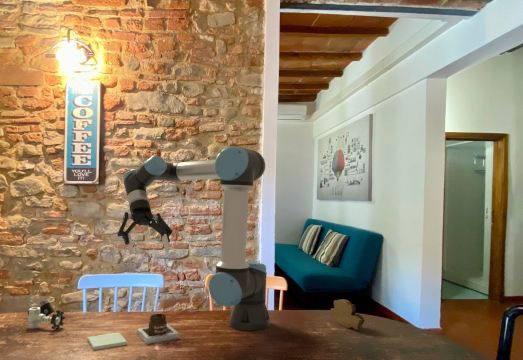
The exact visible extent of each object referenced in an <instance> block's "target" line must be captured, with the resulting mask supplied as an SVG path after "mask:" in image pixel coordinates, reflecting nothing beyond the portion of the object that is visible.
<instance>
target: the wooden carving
mask: <svg viewBox="0 0 523 360" xmlns="http://www.w3.org/2000/svg"><path fill="white" fill-rule="evenodd" d="M356 310H357V308H356V305H355V303H354V304H353V303H352V302H351V301H349V300H348V299H344V298H343V299H335V300H333V308H330V311H331V312H332V313H333V316H332V317H333V318H334V320H335V322H337V323H338V324H339V325H340V326H342V325H343V326H345V327H344V328H346V327H347V328H346V329H349V328H353V329H354V330H356V331H358V330H360V329H362V328H363V324H364V323H365V318H364V317H363V315H361V314H358V313H357V312H356ZM356 313H357V314H356ZM343 326H342V327H343Z"/></svg>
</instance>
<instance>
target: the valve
mask: <svg viewBox="0 0 523 360" xmlns="http://www.w3.org/2000/svg"><path fill="white" fill-rule="evenodd" d="M28 310H29V315H28V314H27V322H28V324H27V325H28V327H27V329H33V330H34V329H37V328H38V329H39V328H40V326H41V325H40V324H44V323H45V322H46V323H47V322H48V323H50V324H51V325H52V326H51V329H53V330H57V329H59V330H60V328H61V327H60V326H62V327H63V326H64V324H65V323H64V322H63V321H64V320H65V319H66V315H64V314H65V312H64V310H60V309H59V310H56V311H55V313H52V315H51V316H49V315H48V316H46V315H45V314H40V307H39V306H34V307H30V308H29V309H28Z"/></svg>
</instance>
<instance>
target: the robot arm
mask: <svg viewBox="0 0 523 360" xmlns="http://www.w3.org/2000/svg"><path fill="white" fill-rule="evenodd" d="M265 171H266V161H265V159H264V157H263V155H262V154H261V153H260V152H258V151H256V150H254V149H248V148H245V147H241V146H227V147H225V148H223V149H222V150H221V151H220V152H219V153H218V154H217V155H216V157H215V159H208V160H207V159H206V160H195V161H184V162H183V161H182V162H166V161H165V159H164V158H162V156H159V155H157V154H155V155H152V156H150V157H149V158H148V159H147V160H146V161H144V163H142V165H141V166H139V168H137V169H130V170H129V171H126V172H125V173H124V175H123V185H124V188H125V189H124V190H125V193H126V197H127V201H128V202H127V203H128V206H129V211H130V213H129V212H128V211H124V214H123V215H122V223H121V225H120V227H119V230H118V232H117V236H118V237H121V238H122V239H123V242H124V244H125V245H127V249H128V254H129V255H131V254H132V253H133V251H134V250H135V247H134V245H133V239H132V235H131V231H133V229H134V228H135V227H137V225H138V226H146V227H147V226H148V227H149V228H152V229H153V230H154V231H156V232H157V233H158V234H159V235H160V236H162V238H161V240H162V243H163V247H164V248H163V249H164V252H165V254H168V253H169V251H170V250H171V247H170V243H171V239H170V236H171V235H172V234H173V233H174V232H173V230H172V229H171V227H170V226H169V225H168V224H167V222H166V221H165V220H164V219H163V217H162V216H161V213H159V212H157V213H156V214H153V212H152V207H151V205H150V201H149V197H148V191H147V187H149V186H150V185H151V184H152V183H154V182H155V181H161V182H175V183H177V182H182V181H197V180H198V181H199V180H200V181H201V180H214V179H215V180H217V179H218V180H219V186H220V187H221V189H222V190H223V204H222V221H221V222H222V226H221V247H220V259H219V260H218V262H216V264H215V273H214V274H213V275H212V277H210V279H209V281H208V292H209V295H210V298H212V299H213V300H214V302H215V303H216V304H217V305H219V306H222V307H231V306H233V307H232V309H231V313H230V315H229V320H228V324H229V327H231V328H234V329H236V330H239V331H240V330H241V331H261V330H264V329H268V328H269V327H270V324H271V318H270V314H269V311H268V308H267V305H266V304H267V303H266V299H267V298H266V297H267V274H268V273H267V266H266V265H265V263H261V262H252V261H246V257H247V256H246V253H247V252H246V251H247V235H248V234H247V233H248V231H247V230H248V215H249V214H248V212H249V195H250V194H249V192H250V191H251V190H252V189H253V187H254V182H255V181H257V180H259V179H260V178H261V177H262V176H263V175H264V173H265ZM129 219H131V220H132V223H131V224H130V225H129V226H128V228H127V229H125V227H126V225H127V222H128V220H129ZM124 229H125V231H124Z"/></svg>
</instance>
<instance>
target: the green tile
mask: <svg viewBox="0 0 523 360" xmlns="http://www.w3.org/2000/svg"><path fill="white" fill-rule="evenodd" d="M87 342H88V343H89V345H90V347H91V349H92V350H93V351H96V350H102V349H108V348H115V347H120V346H126V345H128V344H127V343H128V341H127V340H126V339H125V337H124V336H123V335H122V333H120V332H119V331H118V332H114V333H113V332H112V333H107V334H106V333H105V334H100V335H92V336H88V337H87Z"/></svg>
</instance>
